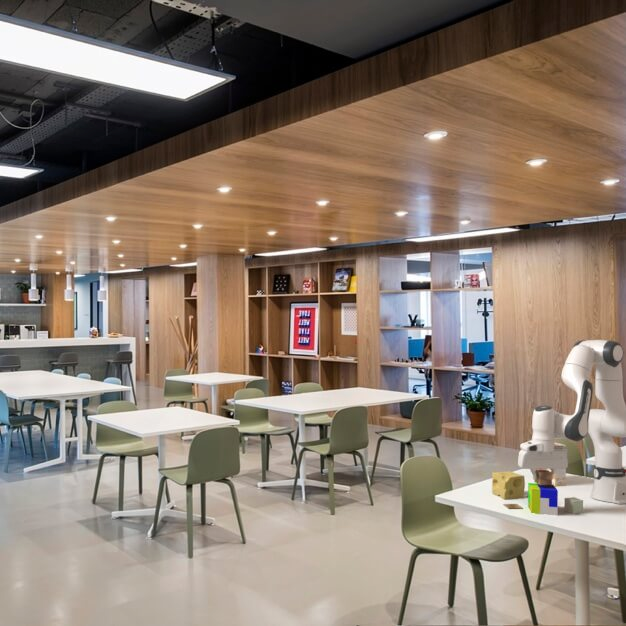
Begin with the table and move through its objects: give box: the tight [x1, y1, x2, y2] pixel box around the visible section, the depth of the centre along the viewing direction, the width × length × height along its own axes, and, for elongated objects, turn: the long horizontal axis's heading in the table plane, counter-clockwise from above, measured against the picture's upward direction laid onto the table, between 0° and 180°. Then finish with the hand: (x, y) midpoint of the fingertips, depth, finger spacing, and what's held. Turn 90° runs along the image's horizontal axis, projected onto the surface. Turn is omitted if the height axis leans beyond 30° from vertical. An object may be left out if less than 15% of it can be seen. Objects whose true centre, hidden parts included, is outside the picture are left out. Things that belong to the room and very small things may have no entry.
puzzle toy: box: [527, 482, 559, 516], centre depth 258 cm, size 10×10×10 cm
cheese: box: [491, 470, 526, 500], centre depth 281 cm, size 10×11×10 cm
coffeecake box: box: [534, 442, 567, 487], centre depth 307 cm, size 15×7×20 cm, turn 23°
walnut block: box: [533, 470, 552, 485], centre depth 258 cm, size 5×5×5 cm
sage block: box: [563, 496, 584, 514], centre depth 259 cm, size 5×5×5 cm
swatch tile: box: [502, 503, 524, 510], centre depth 263 cm, size 6×6×1 cm
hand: (542, 479), depth 258 cm, fingers closed on walnut block, 5 cm apart
